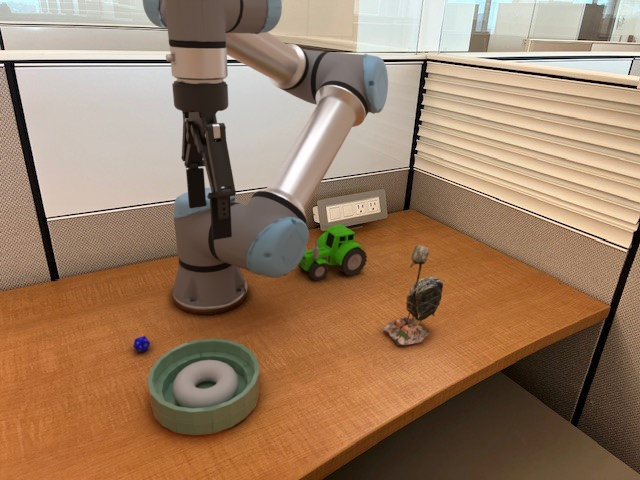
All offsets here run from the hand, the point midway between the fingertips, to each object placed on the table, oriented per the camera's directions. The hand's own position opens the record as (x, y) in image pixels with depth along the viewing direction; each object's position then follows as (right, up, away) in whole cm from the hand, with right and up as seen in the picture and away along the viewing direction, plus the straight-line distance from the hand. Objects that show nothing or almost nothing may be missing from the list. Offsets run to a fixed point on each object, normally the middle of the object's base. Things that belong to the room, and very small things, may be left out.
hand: (209, 221), depth 75 cm
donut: (0, -27, -1) cm, 27 cm away
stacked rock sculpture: (+35, -21, +17) cm, 44 cm away
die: (-14, -23, +9) cm, 28 cm away
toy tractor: (+20, -10, +39) cm, 45 cm away
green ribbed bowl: (0, -28, -1) cm, 27 cm away
